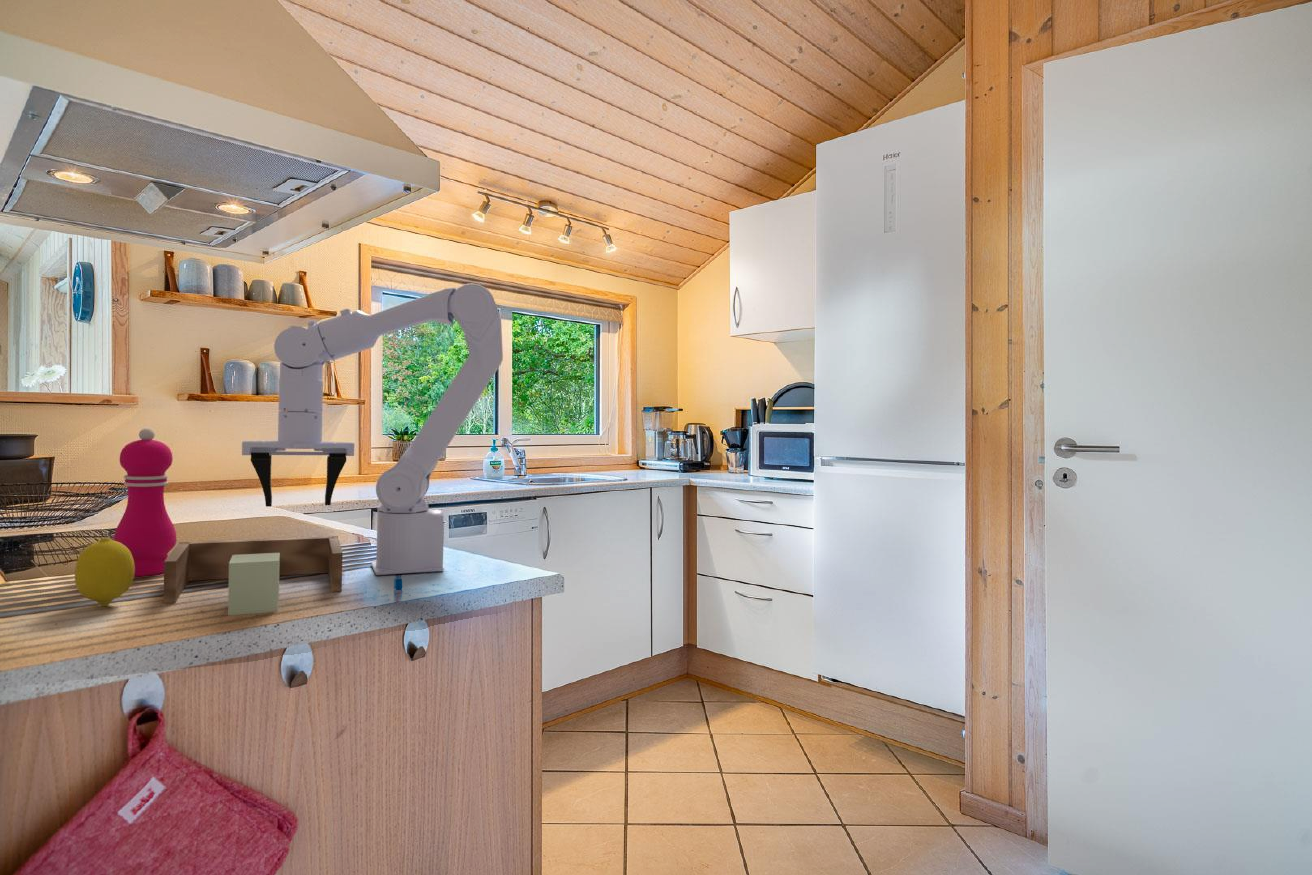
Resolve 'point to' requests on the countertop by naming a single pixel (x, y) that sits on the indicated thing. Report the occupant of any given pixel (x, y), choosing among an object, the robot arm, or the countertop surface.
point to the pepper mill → (146, 504)
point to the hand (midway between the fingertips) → (298, 505)
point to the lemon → (104, 571)
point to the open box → (216, 555)
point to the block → (253, 583)
